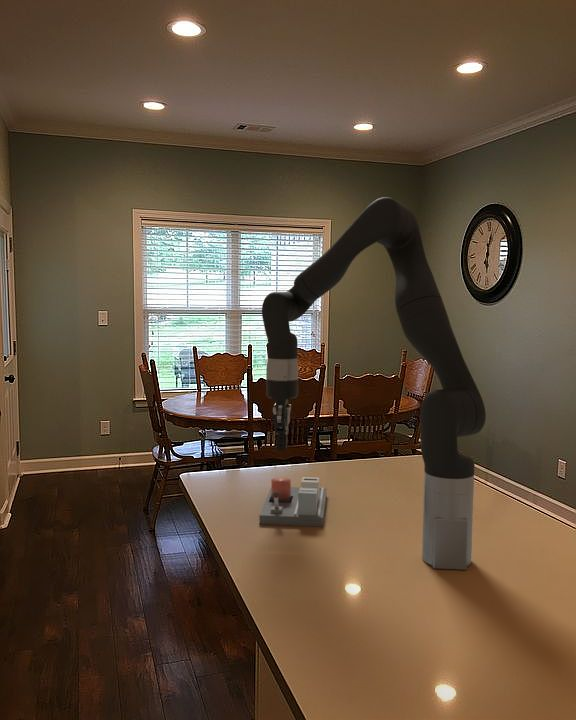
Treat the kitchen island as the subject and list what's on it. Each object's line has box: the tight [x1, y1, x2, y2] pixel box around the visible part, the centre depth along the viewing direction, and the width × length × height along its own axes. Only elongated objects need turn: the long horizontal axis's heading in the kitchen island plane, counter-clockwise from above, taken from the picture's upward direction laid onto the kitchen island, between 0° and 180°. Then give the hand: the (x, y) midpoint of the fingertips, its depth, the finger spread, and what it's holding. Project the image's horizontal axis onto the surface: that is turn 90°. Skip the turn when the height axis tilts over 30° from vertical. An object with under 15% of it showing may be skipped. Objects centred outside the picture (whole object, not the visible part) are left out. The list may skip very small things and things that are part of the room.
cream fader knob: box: [300, 476, 320, 503], centre depth 153 cm, size 4×4×5 cm
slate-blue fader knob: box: [298, 487, 317, 516], centre depth 144 cm, size 4×4×5 cm
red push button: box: [270, 477, 292, 500], centre depth 154 cm, size 5×5×4 cm
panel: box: [258, 486, 327, 528], centre depth 152 cm, size 22×14×7 cm, turn 174°
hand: (281, 449), depth 153 cm, fingers closed
